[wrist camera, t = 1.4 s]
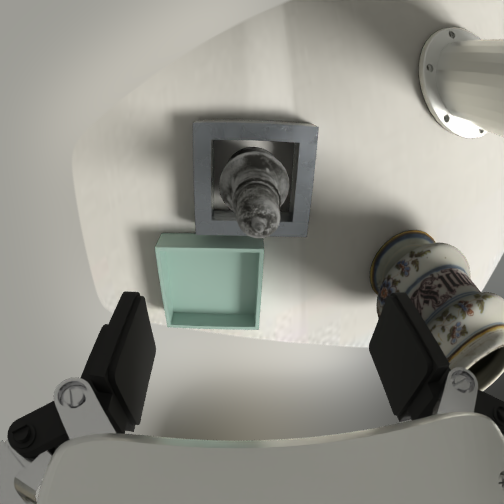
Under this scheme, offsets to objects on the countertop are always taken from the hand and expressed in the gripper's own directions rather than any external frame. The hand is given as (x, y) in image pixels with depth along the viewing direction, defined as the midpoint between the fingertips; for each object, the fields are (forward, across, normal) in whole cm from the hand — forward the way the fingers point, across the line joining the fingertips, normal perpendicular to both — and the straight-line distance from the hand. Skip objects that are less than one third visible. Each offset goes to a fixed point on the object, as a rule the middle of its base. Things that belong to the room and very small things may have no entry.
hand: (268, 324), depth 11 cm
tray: (+20, +4, +11) cm, 23 cm away
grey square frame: (+20, 0, 0) cm, 20 cm away
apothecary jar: (+20, -19, +10) cm, 29 cm away
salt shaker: (+20, 0, 0) cm, 20 cm away
